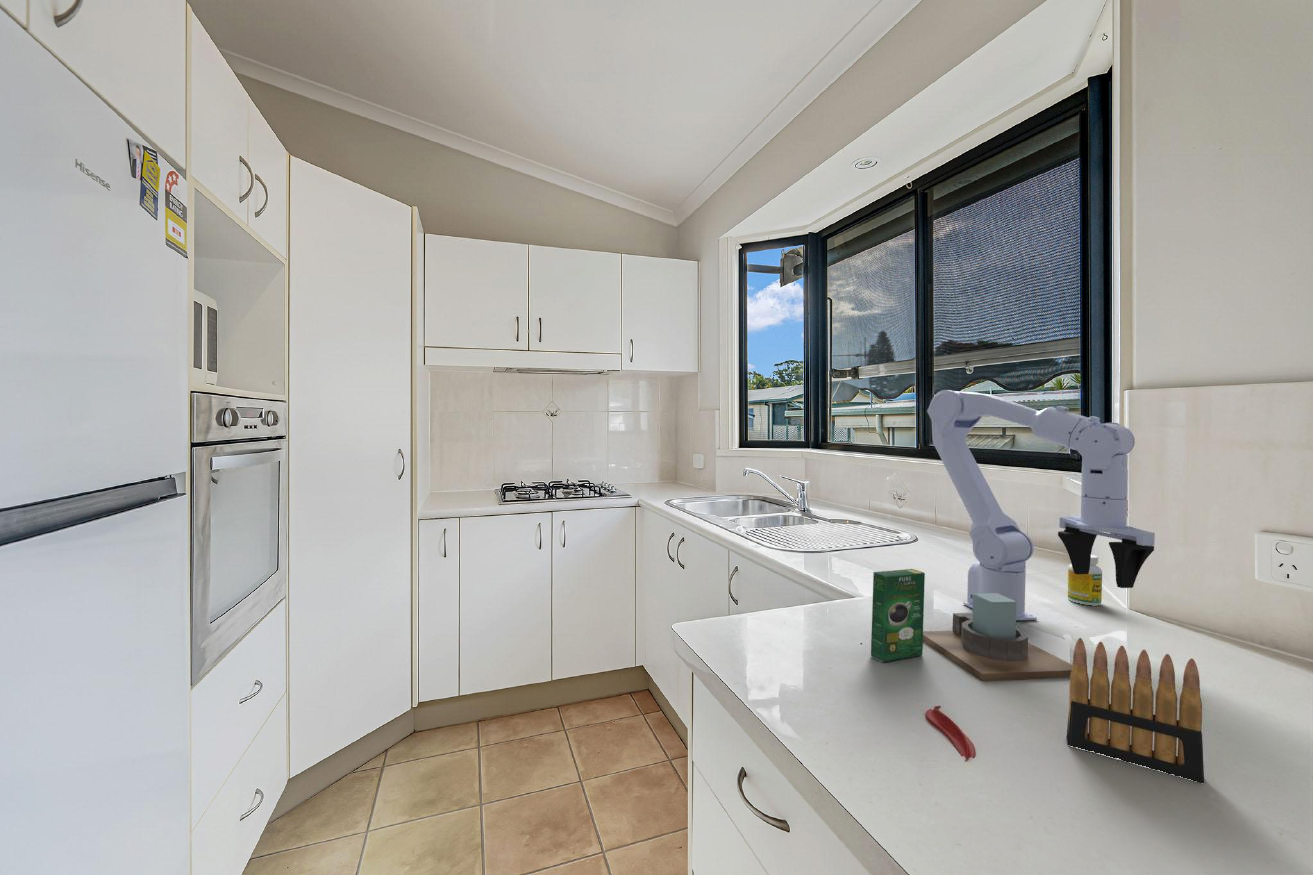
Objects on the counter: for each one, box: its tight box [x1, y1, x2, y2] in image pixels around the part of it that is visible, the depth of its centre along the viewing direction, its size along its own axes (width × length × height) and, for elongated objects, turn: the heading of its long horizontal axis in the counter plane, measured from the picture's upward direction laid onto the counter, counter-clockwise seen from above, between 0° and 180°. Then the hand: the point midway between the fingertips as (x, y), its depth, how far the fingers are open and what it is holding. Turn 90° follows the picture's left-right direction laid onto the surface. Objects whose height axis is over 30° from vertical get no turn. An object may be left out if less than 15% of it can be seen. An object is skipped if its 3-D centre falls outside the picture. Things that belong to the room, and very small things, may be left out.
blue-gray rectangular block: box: [972, 593, 1017, 639], centre depth 81 cm, size 4×4×8 cm
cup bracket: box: [923, 612, 1072, 682], centre depth 81 cm, size 15×15×4 cm
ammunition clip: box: [1066, 637, 1205, 785], centre depth 56 cm, size 11×2×12 cm, turn 55°
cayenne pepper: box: [925, 705, 977, 762], centre depth 61 cm, size 12×5×2 cm, turn 156°
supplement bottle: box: [1067, 554, 1103, 607], centre depth 106 cm, size 5×5×10 cm
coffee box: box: [870, 568, 926, 663], centre depth 80 cm, size 8×3×13 cm, turn 110°
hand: (1102, 580), depth 86 cm, fingers open, 7 cm apart
